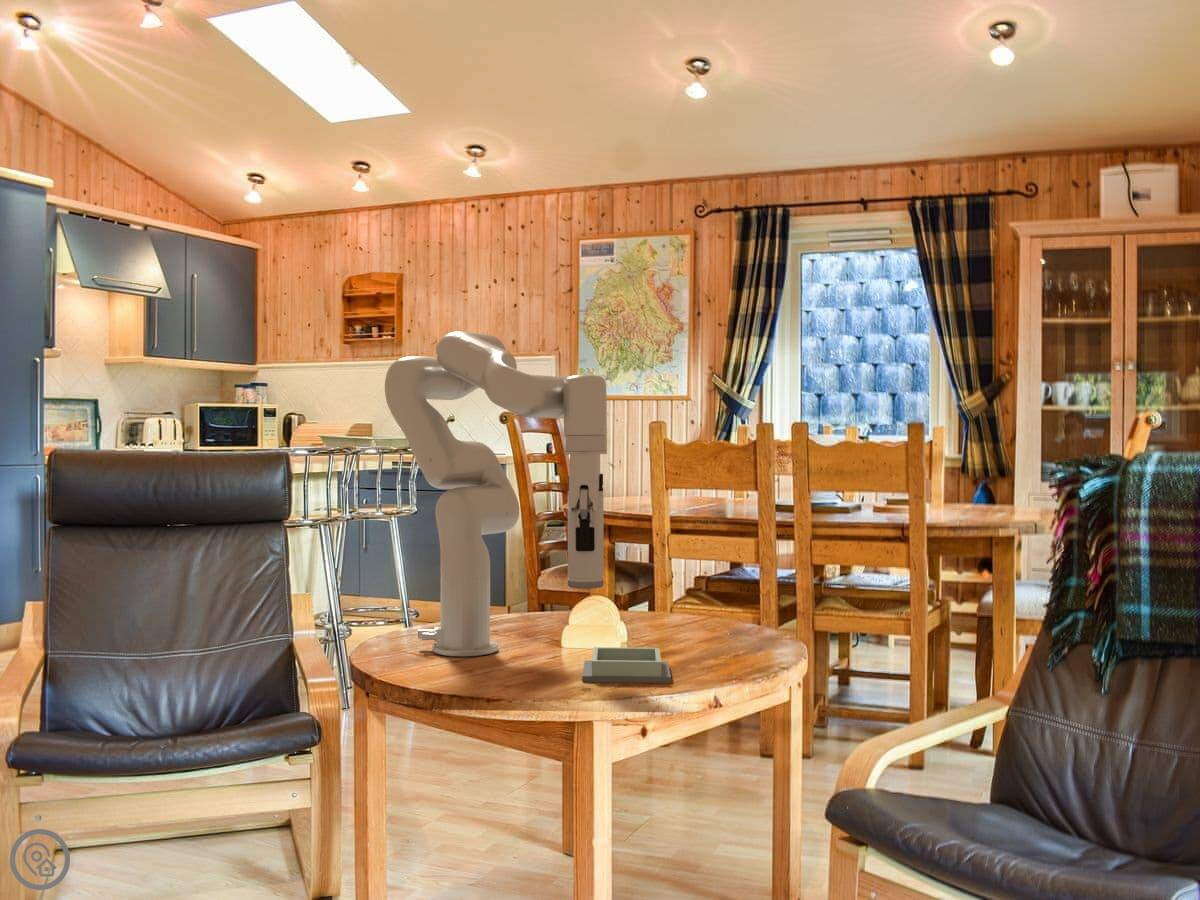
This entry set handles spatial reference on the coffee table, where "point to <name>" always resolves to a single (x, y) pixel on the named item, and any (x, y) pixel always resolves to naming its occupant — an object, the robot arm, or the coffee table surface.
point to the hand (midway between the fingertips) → (586, 548)
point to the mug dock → (626, 666)
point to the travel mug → (586, 564)
